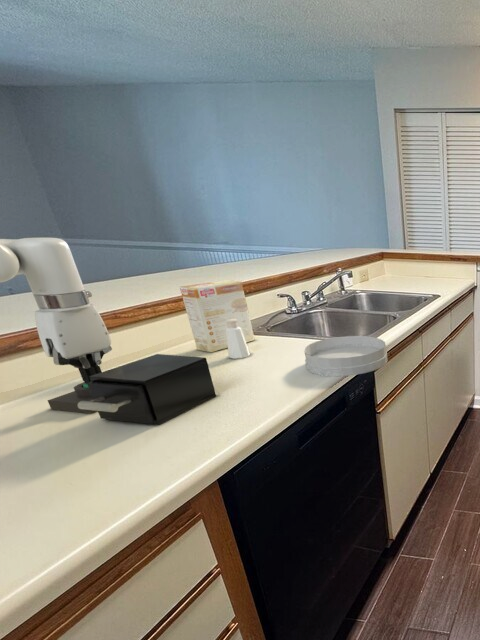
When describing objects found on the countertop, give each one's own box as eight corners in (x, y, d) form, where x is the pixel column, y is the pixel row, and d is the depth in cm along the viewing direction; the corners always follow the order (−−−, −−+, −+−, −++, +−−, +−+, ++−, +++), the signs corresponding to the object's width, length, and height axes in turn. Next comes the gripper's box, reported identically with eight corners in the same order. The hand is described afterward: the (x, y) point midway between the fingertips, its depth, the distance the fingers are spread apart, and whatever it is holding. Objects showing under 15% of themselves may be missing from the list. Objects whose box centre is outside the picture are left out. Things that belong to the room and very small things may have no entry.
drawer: (128, 433, 80) (114, 396, 77) (77, 428, 81) (61, 391, 78) (205, 396, 96) (196, 364, 93) (161, 392, 98) (151, 361, 95)
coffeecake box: (241, 337, 143) (227, 279, 136) (255, 340, 140) (243, 281, 133) (195, 349, 130) (178, 285, 123) (211, 352, 128) (194, 287, 120)
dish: (371, 378, 111) (369, 360, 109) (290, 374, 112) (286, 356, 110) (397, 352, 132) (396, 337, 130) (329, 349, 133) (326, 334, 131)
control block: (51, 409, 90) (43, 392, 89) (108, 388, 101) (103, 373, 100) (91, 413, 89) (84, 396, 88) (144, 391, 100) (139, 376, 99)
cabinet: (159, 425, 85) (144, 381, 81) (105, 419, 87) (88, 376, 83) (216, 396, 98) (206, 357, 95) (169, 392, 100) (157, 353, 96)
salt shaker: (236, 352, 128) (228, 317, 124) (254, 353, 128) (246, 317, 124) (224, 358, 123) (215, 321, 119) (243, 359, 123) (234, 322, 119)
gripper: (86, 293, 94) (114, 370, 101) (2, 307, 80) (41, 395, 87) (115, 295, 93) (141, 372, 100) (35, 309, 79) (72, 397, 86)
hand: (95, 382), depth 94 cm, fingers closed
